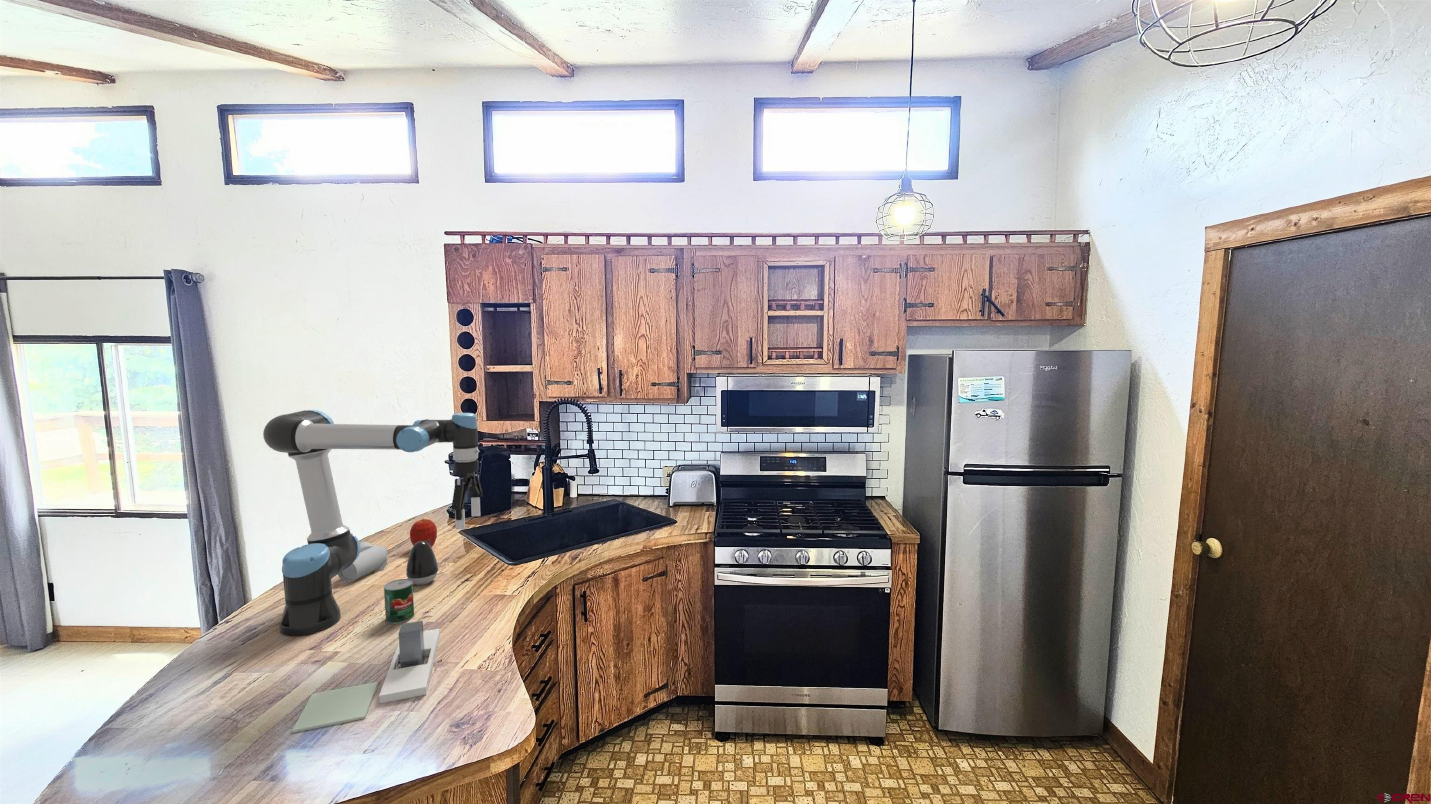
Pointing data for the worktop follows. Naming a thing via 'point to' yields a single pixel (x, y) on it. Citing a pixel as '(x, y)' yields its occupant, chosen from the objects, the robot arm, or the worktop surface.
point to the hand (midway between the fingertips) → (468, 522)
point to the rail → (410, 673)
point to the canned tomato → (399, 601)
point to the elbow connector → (365, 562)
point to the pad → (336, 707)
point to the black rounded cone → (422, 563)
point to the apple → (423, 531)
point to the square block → (411, 644)
